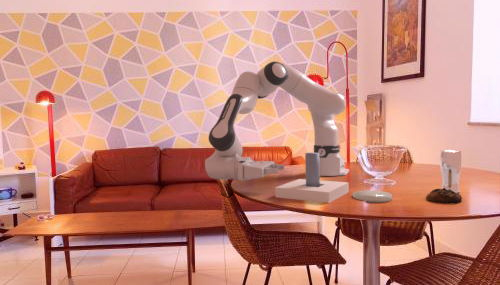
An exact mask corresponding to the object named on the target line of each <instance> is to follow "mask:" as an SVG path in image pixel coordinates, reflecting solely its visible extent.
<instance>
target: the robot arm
mask: <svg viewBox="0 0 500 285" xmlns="http://www.w3.org/2000/svg"><path fill="white" fill-rule="evenodd" d="M278 88H281V89H282V90H283V91H285V92H286V93H287V94H289V95H291V96H293V98H295V99H296V100H298V101H299V102H301V103H304V104H306V105H307V109H308V111H309V113H310V116H311V120H312V124H313V131H314V145H313V153H319V156H320V177H334V176H335V177H336V176H346V175H347V174H348V173H349V172H350V169H349V168H345V159H344V158H343V156H342V155H341V153H340V152H341V151H340V149H341V144H339V129H338V127H337V125H336V124H335V123H336V122H335V120H334V116H338V115H340V114H342V113H343V112H344V111H345V110H346V107H347V102H346V99H345V96H343V95H342V94H340V93H337V92H335V91H333V90H331V89H329V88H327V87H325V86H323V85H321V84H319V83H318V82H316V81H314V80H312V79H311V78H309V76H307V75H305V74H304V73H303V72H301V71H300V70H298V69H296V68H295V67H293V66H291V65H289V64H287V63H281V62H279V61H271V62H268V63H267V64H266V65H265V66H264V67H263V68H261V69H259V70H258V71H257V73H255V72H252V71H243V72H242V73H241V74H240V75H239V77H238V78H237V80H236V82H235V84H234V86H233V90H232V92H231V95H229V97H228V98H227V100H226V101H225V103H224V107H223V108H222V111H221V113H220V115H219V118H218V119H217V121H216V123H215V124H214V125H213V127H212V128H211V129H210V131H209V132H208V133H209V134H208V142H209V144H210V145H211V147H213V148H214V152H213V153H212V154H211V156H208V157H207V158H206V159H205V161H204V170H205V173H206V174H207V177H209V178H211V179H215V180H224V181H226V180H227V181H229V180H235V181H250V180H252V179H261V178H262V179H263V177H265V176H267V175H277V174H279V173H280V171H283V170H285V165H284V164H278V163H275V162H276V161H274V160H273V161H272V160H260V161H259V160H258V161H256V160H253V159H252V157H250V156H243V151H244V150H243V145H242V143H241V141H240V140H239V138H238V136H237V134H236V133H235V132H236V131H235V123H236V121H237V118H238V115H239V114H240V115H246V114H249V113H251V112H253V111H254V109H255V107H256V105H257V102H258V100H259V99H264V98H266V97H268V96H269V95H271V94H273V93H274V92H275V91H276V90H277V89H278Z"/></svg>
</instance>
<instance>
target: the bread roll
mask: <svg viewBox="0 0 500 285" xmlns="http://www.w3.org/2000/svg"><path fill="white" fill-rule="evenodd" d="M425 198H426V200H428V201H431V202H434V203H440V204H450V203H454V204H458V203H461V202H462V199H463V197H462V195H461V194H459V193H456V192H454V191H452V190H450V189H449V190H446V189H445V188H443V189H442V188H435V189H432V190H431V191H429V193H427V195H426V196H425Z"/></svg>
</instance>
